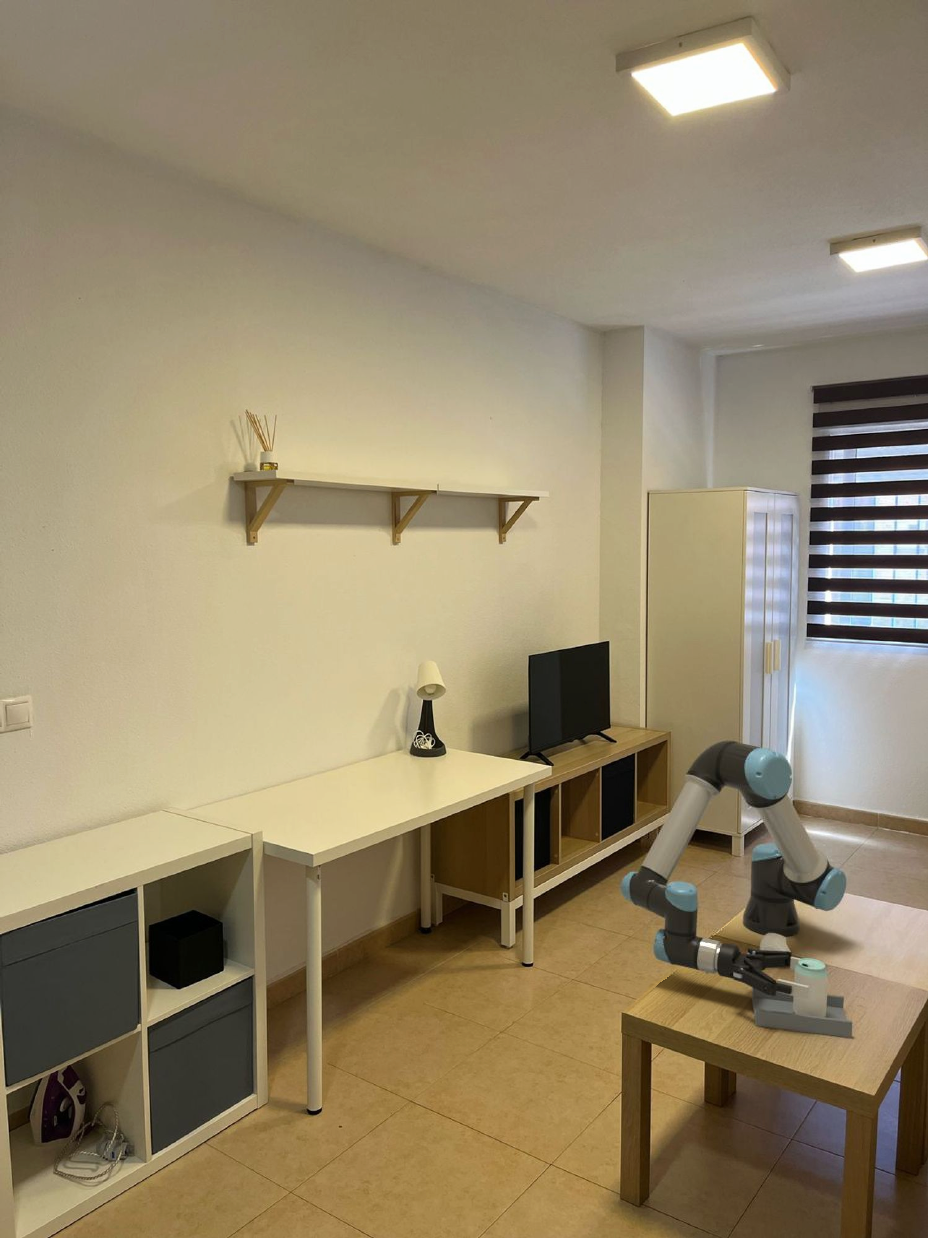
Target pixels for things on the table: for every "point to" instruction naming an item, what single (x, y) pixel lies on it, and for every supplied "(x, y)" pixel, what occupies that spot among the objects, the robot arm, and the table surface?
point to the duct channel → (782, 1016)
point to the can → (811, 987)
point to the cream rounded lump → (774, 943)
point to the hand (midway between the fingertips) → (814, 981)
